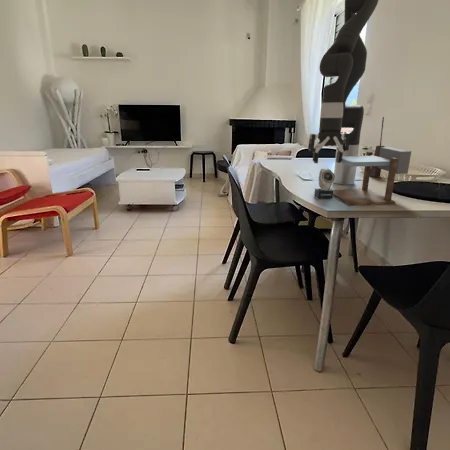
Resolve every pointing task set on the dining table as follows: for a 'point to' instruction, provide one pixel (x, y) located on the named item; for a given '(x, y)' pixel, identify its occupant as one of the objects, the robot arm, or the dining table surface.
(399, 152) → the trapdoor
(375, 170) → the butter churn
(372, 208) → the dining table surface
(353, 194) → the trapdoor frame
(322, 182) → the watch
